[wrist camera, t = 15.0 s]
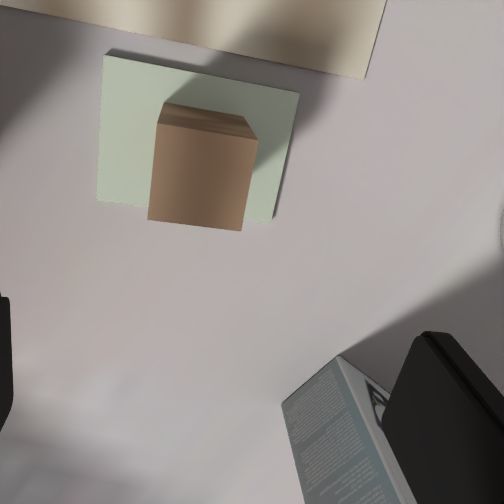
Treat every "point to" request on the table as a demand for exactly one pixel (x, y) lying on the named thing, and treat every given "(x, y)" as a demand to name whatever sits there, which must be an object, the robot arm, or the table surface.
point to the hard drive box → (343, 440)
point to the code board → (243, 26)
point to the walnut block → (201, 167)
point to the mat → (192, 95)
